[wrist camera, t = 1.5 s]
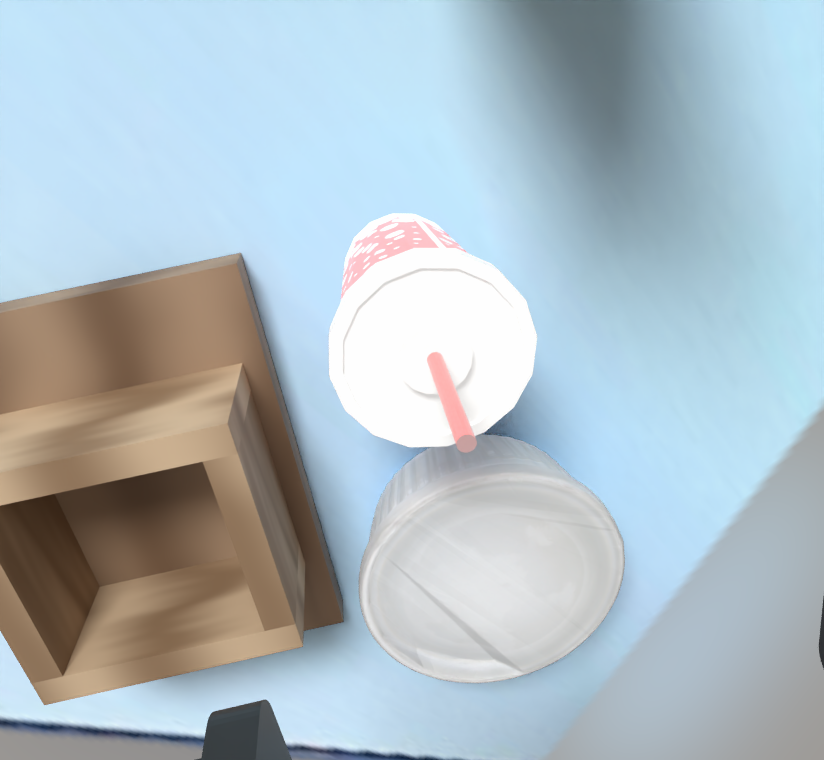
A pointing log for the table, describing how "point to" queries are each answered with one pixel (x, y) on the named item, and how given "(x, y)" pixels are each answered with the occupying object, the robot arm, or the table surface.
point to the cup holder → (150, 485)
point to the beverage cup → (427, 337)
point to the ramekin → (487, 562)
